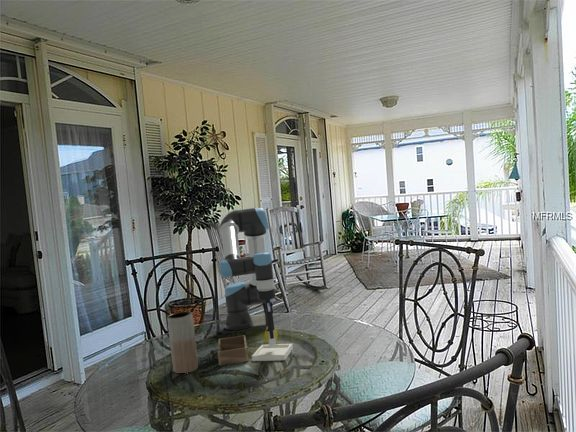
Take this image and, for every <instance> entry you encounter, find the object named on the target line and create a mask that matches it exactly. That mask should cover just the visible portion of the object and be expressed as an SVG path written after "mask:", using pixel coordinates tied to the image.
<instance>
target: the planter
mask: <svg viewBox="0 0 576 432" xmlns="http://www.w3.org/2000/svg"><path fill="white" fill-rule="evenodd" d="M166 319H167V327H168V336H169V337H168V338H169V345H170V355H171V362H172V371H173V373H174V372H177V373H185V374H188V372H189V373H192V372H195V371H196V370H197V369H198V368H199V361H198V360H199V359H198V352H197V342H196V336H195V335H196V334H195V333H196V332H195V325H194V316H193V312H192V311H180V312H174V313H171V314H169V315H167V317H166Z"/></svg>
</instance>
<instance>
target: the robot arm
mask: <svg viewBox="0 0 576 432" xmlns="http://www.w3.org/2000/svg"><path fill="white" fill-rule="evenodd" d="M267 218H268V217H267V214H266V211H265V209H264V207H253V208H245V209H237V210H233V211H230V212H228V213H227V214H226V215H225V216H224V217H223V219H221V222H220V223H219V233H220V235H221V237H222V249H223V250H222V252H223V260H220V261H219V269H220V270H219V271H220V276H221V277H222V278H228V277H229V278H233V277H239V276H246V275H247V276H248V275H251V278H250V279H249V282H248V284H247V283H246V282H245V281H240V282H234V283H231V284H230V285H227V286H226V287H225V288H224V297H225V306H226V317H225V318H226V319H225V322H224V323H225V324H224V326H225V330H227V331H238V330H244V329H248V328H250V327H252V326H254V319H253V317H252V314H250V311H249V307H250V306H257V305H262V307H263V313H264V319H265V325H266V329H267V328H268V330H266V329H265V330H266V331H268V338H269V342H268V344H269V346H276V344H277V342H276V341H277V340H276V341H275V332H274V330H275V329H276V328H275V325H274V324H275V322H274V315H273V313H274V310H273V301H274V299H275V298H276V289H275V280H274V279H275V278H274V274H273V273H274V272H273V271H274V270H273V263H272V262H273V259H272V255H271V253H270V252H269V251H268V252H266V247H265V235H266V234H267V230H269V229H270V228H269V222H268V219H267ZM239 233H243V234H244V236H245V237H246V239H247V245H248V254H249V255H248V256H249V257H248V256H247V257H241V252H240V244H239Z"/></svg>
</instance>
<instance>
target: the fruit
mask: <svg viewBox="0 0 576 432" xmlns="http://www.w3.org/2000/svg"><path fill="white" fill-rule="evenodd" d="M266 330H268V328H266V329H265V331H264V339H265V341H266V342H267V343H269V338H268V331H266ZM274 332H275V341H277V339H278V335H279V333H278V331H277V329H276V328H275V330H274Z"/></svg>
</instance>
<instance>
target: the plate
mask: <svg viewBox="0 0 576 432" xmlns="http://www.w3.org/2000/svg"><path fill="white" fill-rule="evenodd" d="M293 349H294V345H293V343H276V346H269V343H268V344H261V345H260V346H259V348H257V350H256V351H254V352H253V354H251V360H252V361H251V362H263V361H265V362H267V361H269V362H270V361H286V359H287V358H288V357H289V355H290V354H291V352H292V351H293ZM291 350H292V351H291Z"/></svg>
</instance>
